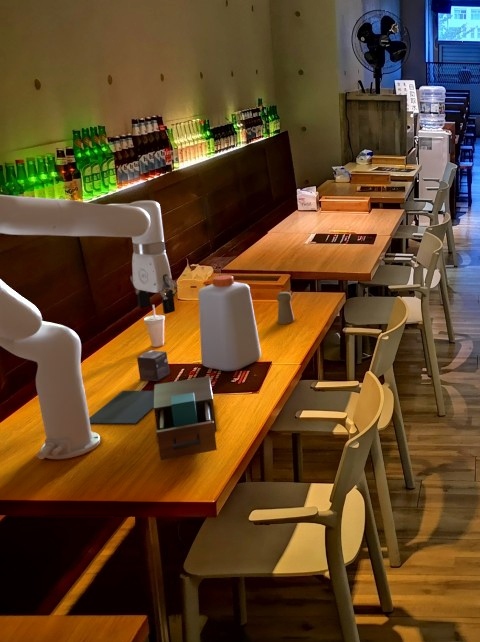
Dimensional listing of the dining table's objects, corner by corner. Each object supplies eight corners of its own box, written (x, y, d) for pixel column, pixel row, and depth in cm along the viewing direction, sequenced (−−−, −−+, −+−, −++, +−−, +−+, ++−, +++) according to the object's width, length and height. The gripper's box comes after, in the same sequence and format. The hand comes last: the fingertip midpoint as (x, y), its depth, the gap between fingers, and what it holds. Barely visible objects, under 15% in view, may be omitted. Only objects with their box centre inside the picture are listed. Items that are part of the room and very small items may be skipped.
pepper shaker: (274, 322, 267) (271, 294, 264) (283, 317, 272) (281, 289, 270) (288, 324, 265) (286, 295, 262) (297, 319, 271) (295, 291, 268)
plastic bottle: (267, 357, 234) (259, 274, 226) (232, 374, 221) (222, 286, 213) (231, 350, 240) (222, 268, 233) (196, 366, 227) (185, 280, 219)
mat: (136, 424, 189) (136, 423, 189) (83, 424, 190) (83, 422, 189) (171, 392, 209) (171, 390, 208) (123, 392, 209) (122, 390, 209)
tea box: (199, 438, 178) (194, 400, 175) (176, 442, 176) (171, 404, 173) (198, 429, 183) (193, 392, 180) (175, 433, 181) (170, 396, 178)
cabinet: (216, 431, 186) (212, 398, 183) (158, 441, 180) (153, 408, 178) (213, 406, 199) (209, 376, 197) (159, 415, 194) (154, 384, 192)
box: (157, 381, 216) (154, 358, 214) (139, 380, 217) (136, 357, 215) (170, 373, 222) (167, 351, 220) (152, 372, 223) (149, 349, 221)
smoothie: (171, 341, 249) (166, 302, 245) (163, 348, 243) (158, 308, 239) (152, 341, 248) (147, 302, 245) (144, 348, 242) (138, 308, 239)
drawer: (217, 458, 171) (214, 430, 169) (160, 469, 166) (156, 440, 164) (213, 424, 187) (210, 398, 185) (160, 433, 182) (157, 407, 180)
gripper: (114, 247, 192) (123, 309, 196) (159, 254, 184) (167, 318, 188) (140, 242, 198) (147, 302, 203) (183, 248, 190) (190, 310, 195)
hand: (157, 309), depth 195 cm, fingers open, 9 cm apart
